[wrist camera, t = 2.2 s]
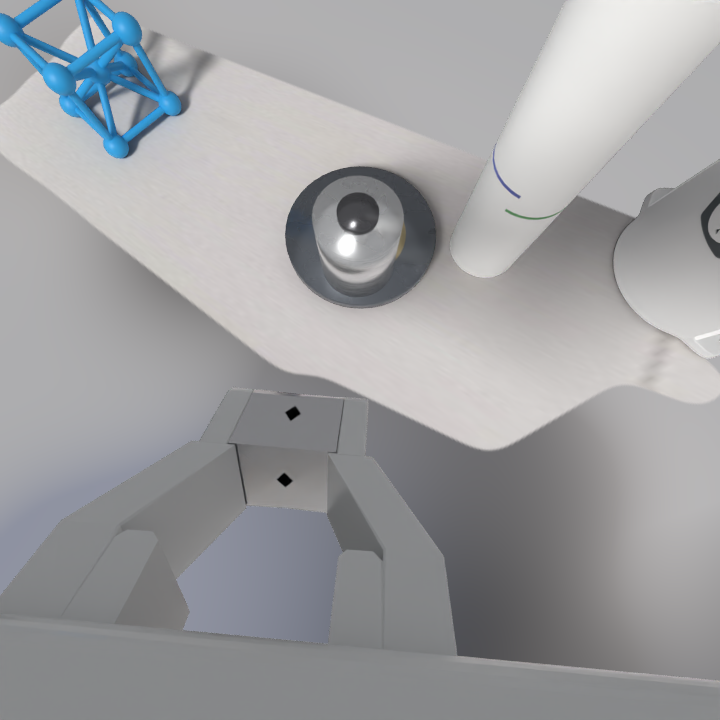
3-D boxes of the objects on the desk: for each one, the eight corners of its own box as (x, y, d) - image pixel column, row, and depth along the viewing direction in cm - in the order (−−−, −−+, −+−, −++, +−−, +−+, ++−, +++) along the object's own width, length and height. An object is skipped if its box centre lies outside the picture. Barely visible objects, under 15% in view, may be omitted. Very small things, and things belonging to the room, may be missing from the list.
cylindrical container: (481, 204, 40) (680, -160, 15) (529, 247, 39) (827, -66, 14) (435, 245, 39) (571, -73, 14) (485, 291, 38) (721, 35, 13)
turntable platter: (418, 166, 39) (420, 157, 38) (446, 296, 36) (449, 292, 35) (279, 184, 38) (277, 176, 37) (296, 318, 36) (294, 314, 34)
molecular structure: (66, 113, 42) (-24, 16, 32) (133, 62, 43) (67, -46, 33) (121, 166, 40) (45, 82, 31) (189, 112, 42) (137, 14, 32)
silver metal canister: (386, 226, 36) (396, 164, 28) (398, 291, 35) (412, 247, 26) (317, 235, 36) (305, 176, 28) (327, 302, 35) (317, 261, 26)
